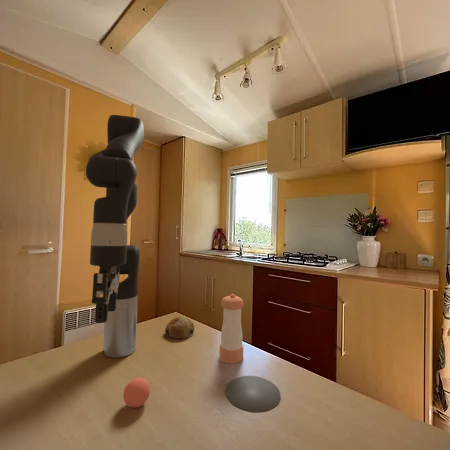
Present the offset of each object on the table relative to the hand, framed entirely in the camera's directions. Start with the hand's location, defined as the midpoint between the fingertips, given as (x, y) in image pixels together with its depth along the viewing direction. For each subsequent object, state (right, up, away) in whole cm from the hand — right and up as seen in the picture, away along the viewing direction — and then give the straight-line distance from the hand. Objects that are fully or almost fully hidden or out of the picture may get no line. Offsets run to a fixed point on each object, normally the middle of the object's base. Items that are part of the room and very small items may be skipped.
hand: (106, 316), depth 56 cm
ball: (+7, -16, -1) cm, 18 cm away
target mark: (+33, -20, +4) cm, 39 cm away
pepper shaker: (+29, -20, +20) cm, 40 cm away
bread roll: (+10, -20, +37) cm, 43 cm away
